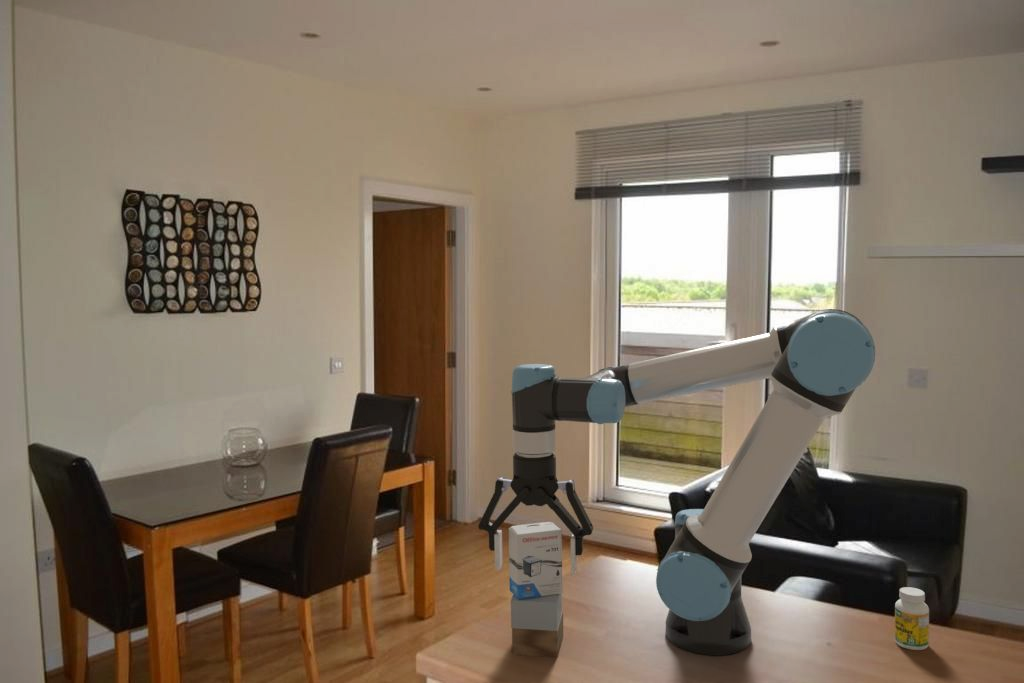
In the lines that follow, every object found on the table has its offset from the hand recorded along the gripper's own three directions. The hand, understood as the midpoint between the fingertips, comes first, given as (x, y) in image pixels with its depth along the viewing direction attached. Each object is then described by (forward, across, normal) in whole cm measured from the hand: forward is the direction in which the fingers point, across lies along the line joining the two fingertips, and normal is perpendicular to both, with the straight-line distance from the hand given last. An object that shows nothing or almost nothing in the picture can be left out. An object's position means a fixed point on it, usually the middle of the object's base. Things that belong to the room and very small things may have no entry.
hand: (536, 570), depth 142 cm
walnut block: (+14, 0, 0) cm, 14 cm away
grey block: (+9, 0, 0) cm, 9 cm away
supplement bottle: (+14, -65, -12) cm, 67 cm away
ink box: (+4, 0, 0) cm, 4 cm away
